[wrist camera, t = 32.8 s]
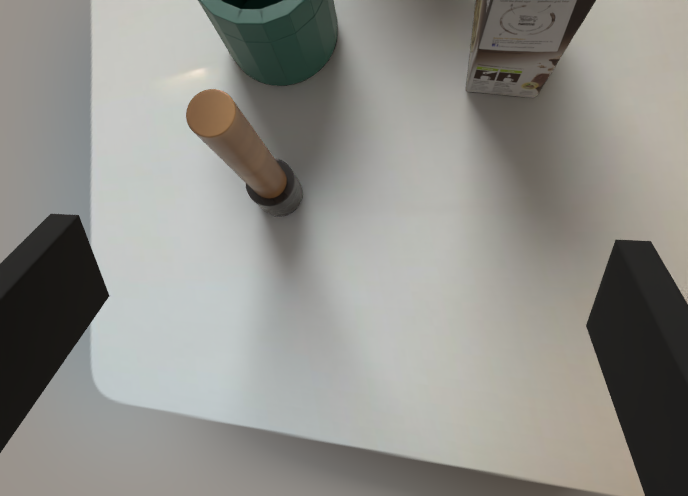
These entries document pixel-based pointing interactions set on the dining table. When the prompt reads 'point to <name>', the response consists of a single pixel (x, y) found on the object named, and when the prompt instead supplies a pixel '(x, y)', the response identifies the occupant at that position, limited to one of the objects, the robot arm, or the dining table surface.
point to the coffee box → (520, 43)
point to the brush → (244, 152)
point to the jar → (276, 36)
